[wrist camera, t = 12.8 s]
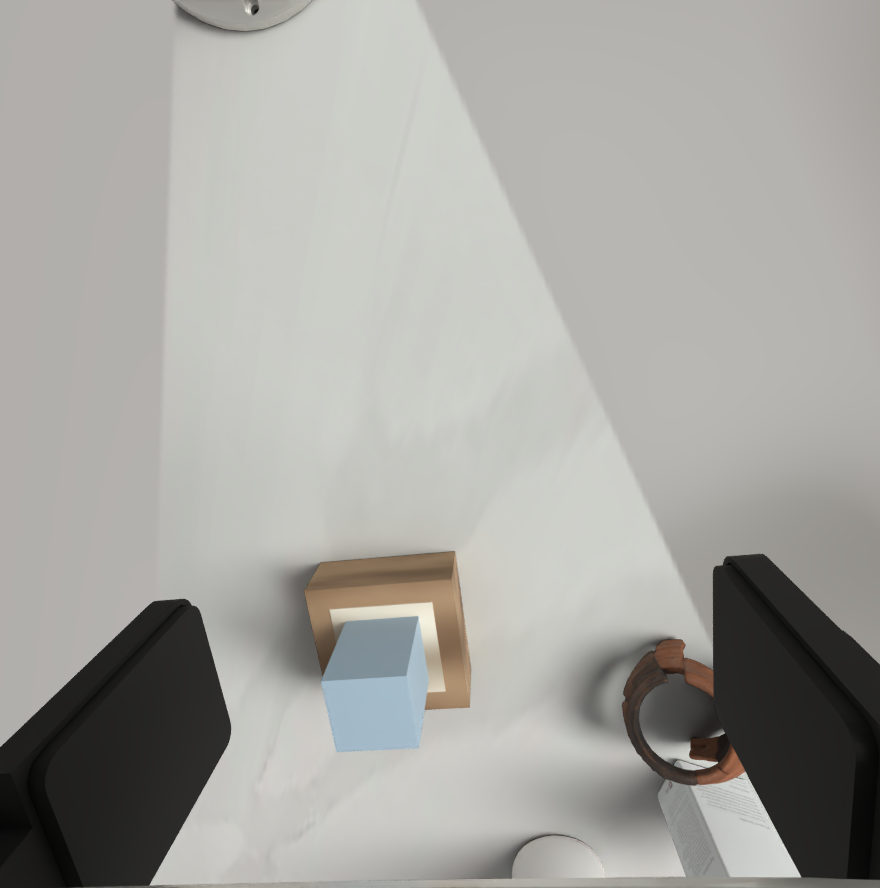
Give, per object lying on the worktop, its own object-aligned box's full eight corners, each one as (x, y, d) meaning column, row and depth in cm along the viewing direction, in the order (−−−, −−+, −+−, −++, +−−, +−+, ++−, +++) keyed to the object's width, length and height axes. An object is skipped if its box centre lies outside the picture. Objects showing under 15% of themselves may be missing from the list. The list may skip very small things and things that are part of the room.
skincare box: (654, 796, 45) (712, 973, 34) (677, 753, 44) (745, 922, 32) (727, 818, 45) (810, 1003, 34) (752, 776, 44) (847, 954, 32)
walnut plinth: (320, 562, 42) (303, 591, 38) (455, 551, 41) (451, 580, 37) (344, 677, 45) (330, 715, 41) (471, 669, 43) (469, 708, 40)
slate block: (345, 621, 38) (320, 681, 33) (418, 616, 38) (406, 676, 32) (358, 683, 40) (336, 751, 34) (428, 679, 39) (418, 748, 33)
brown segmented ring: (659, 758, 45) (641, 811, 38) (618, 638, 47) (593, 666, 40) (830, 740, 40) (847, 797, 33) (775, 605, 42) (780, 631, 35)
